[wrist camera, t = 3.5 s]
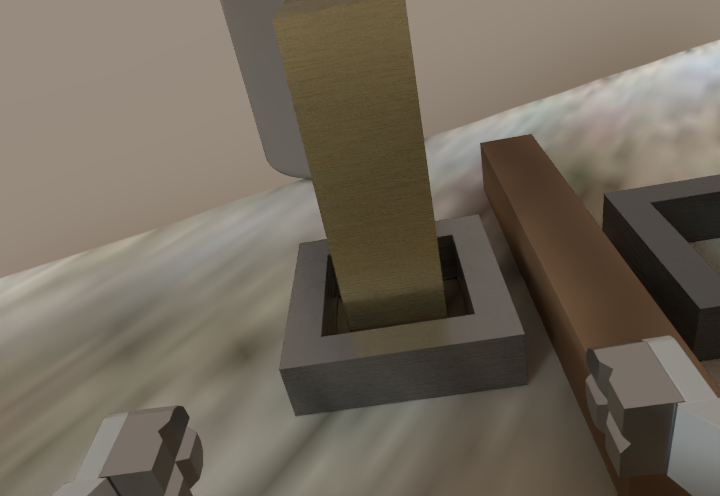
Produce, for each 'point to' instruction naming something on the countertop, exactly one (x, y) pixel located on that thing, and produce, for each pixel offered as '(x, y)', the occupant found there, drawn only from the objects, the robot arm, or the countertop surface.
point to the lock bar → (365, 154)
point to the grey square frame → (402, 334)
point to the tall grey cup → (266, 83)
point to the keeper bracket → (672, 252)
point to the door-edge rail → (573, 278)
